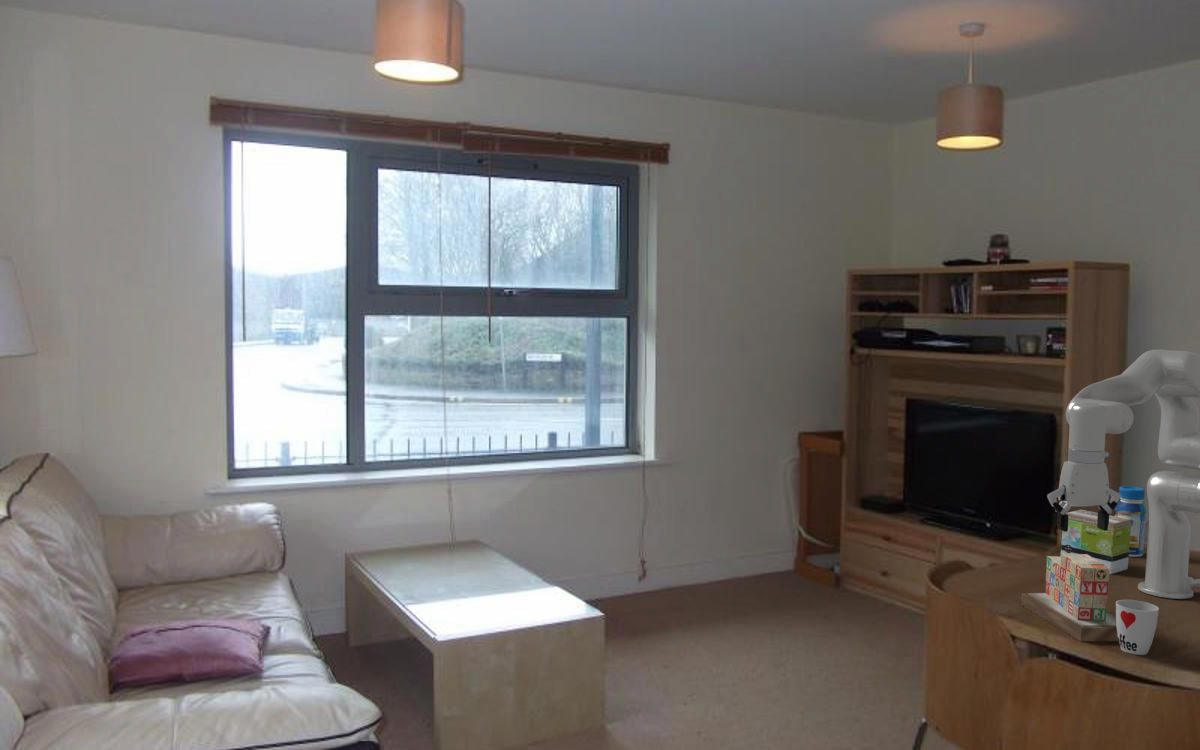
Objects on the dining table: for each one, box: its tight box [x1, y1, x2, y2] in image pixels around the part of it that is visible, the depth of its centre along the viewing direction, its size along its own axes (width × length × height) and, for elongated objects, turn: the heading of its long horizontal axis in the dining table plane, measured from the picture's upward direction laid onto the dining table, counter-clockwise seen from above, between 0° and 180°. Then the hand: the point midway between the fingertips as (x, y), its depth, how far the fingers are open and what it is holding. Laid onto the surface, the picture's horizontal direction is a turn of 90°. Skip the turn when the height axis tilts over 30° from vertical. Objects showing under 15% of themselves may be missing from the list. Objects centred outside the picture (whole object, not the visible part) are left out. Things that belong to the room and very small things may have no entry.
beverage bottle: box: [1114, 485, 1147, 558], centre depth 300 cm, size 8×8×20 cm
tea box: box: [1060, 509, 1131, 575], centre depth 285 cm, size 15×10×15 cm
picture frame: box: [1020, 592, 1119, 642], centre depth 234 cm, size 13×26×3 cm, turn 5°
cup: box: [1115, 599, 1160, 656], centre depth 215 cm, size 8×8×10 cm
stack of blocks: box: [1044, 553, 1110, 621], centre depth 235 cm, size 21×6×12 cm, turn 175°
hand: (1082, 529), depth 233 cm, fingers open, 9 cm apart
